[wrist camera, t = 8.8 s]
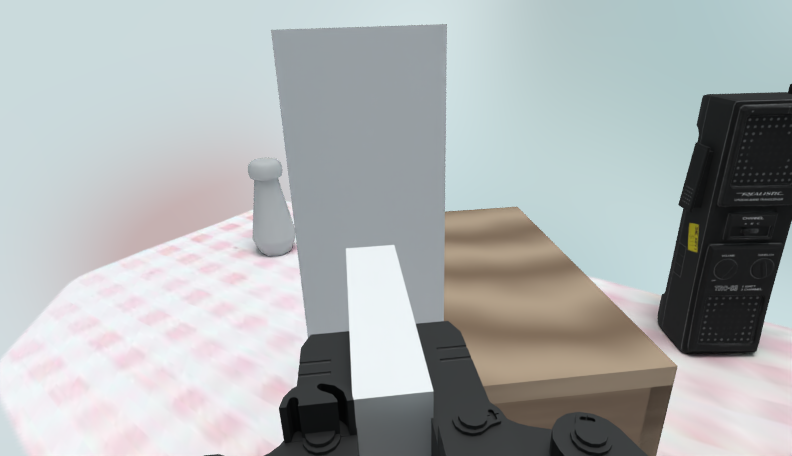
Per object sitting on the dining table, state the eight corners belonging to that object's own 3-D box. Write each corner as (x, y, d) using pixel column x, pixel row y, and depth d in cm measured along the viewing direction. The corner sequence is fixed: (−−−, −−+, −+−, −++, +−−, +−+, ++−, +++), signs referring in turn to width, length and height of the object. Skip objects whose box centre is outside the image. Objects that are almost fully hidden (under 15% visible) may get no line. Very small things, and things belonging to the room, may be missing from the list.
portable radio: (673, 358, 44) (741, 68, 34) (643, 320, 49) (694, 62, 40) (761, 357, 43) (855, 65, 34) (721, 319, 49) (792, 59, 39)
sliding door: (336, 321, 50) (310, 28, 39) (394, 316, 51) (383, 26, 40) (335, 569, 27) (271, 29, 16) (441, 555, 28) (446, 24, 17)
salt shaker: (269, 239, 71) (257, 153, 66) (304, 243, 70) (294, 155, 65) (247, 256, 66) (231, 164, 61) (284, 261, 64) (271, 166, 59)
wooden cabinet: (378, 324, 50) (373, 216, 45) (509, 312, 51) (517, 206, 47) (410, 556, 28) (406, 393, 23) (638, 526, 29) (677, 366, 25)
